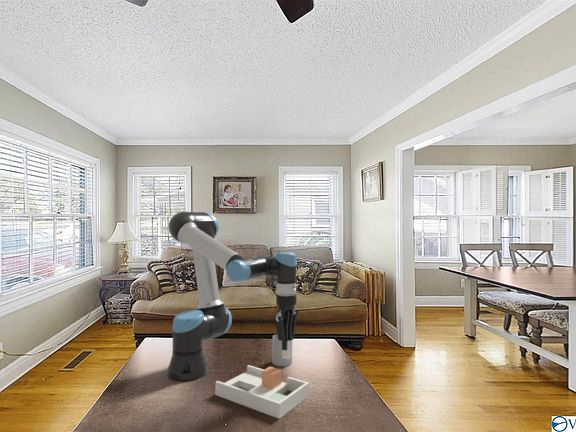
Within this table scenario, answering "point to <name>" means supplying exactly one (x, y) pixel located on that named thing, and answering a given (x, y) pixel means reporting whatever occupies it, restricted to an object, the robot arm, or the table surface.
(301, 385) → the box
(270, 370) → the block
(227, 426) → the table surface
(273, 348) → the mug
